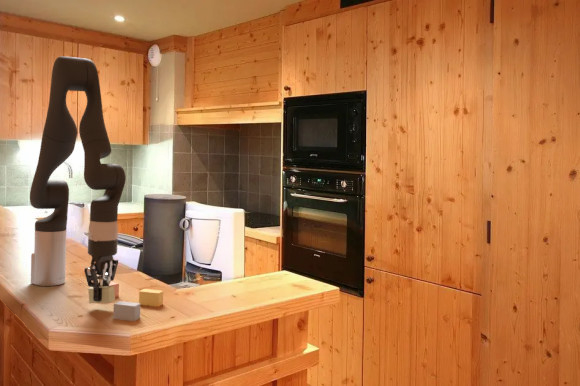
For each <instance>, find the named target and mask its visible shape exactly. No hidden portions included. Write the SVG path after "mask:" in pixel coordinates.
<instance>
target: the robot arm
mask: <svg viewBox="0 0 580 386" xmlns="http://www.w3.org/2000/svg"><path fill="white" fill-rule="evenodd" d="M49 91H50V92H49V100H48V107H47V114H46V117H45V122H44V126H43V129H42V130H43V131H42V136H41V142H40V150H39V153H38V155H39V156H38V161H37V166H36V168H35V173H34V175H33V178H32V182H31V186H30V191H29V202H30V205H31V207H33V209H37V210H47V209H48V210H49V209H50V210H53V211H52V213H51V214H49V215H47V216H46V217H43V218H41V219H38V220H36V221H35V223H34V249H33V250H34V251H33V253H31V256H30V259H31V260H30V261H31V262H30V284H33V285H35V286H41V287H50V286H51V287H53V286H59V285H63V284H65V282H66V263H67V262H66V257H67V256H66V255H67V224H68V210H69V202H70V201H69V200H70V188H69V184H68V182H67V181H66V180H64V179H63V180H61V179H50V177H51V176H52V174H53V173H54V172H55V171H56V169H57V168H59V167H60V166H61V165H62V164H63V163H65V161H67V160H68V159H69V157H71V155H72V154H73V152H74V150H75V146H76V141H77V138H78V134H79V137H80V140H81V144H82V149H83V153H84V156H83V157H84V164H83V165H84V167H83V169H84V170H83V179H84V182H85V184H86V185H87V187H88V188H89V189H92V190H95V191H103V190H104V193H103V195H101V196H100V197H97V198H95V199H92V200H91V202H90V206H89V207H90V208H89V210H90V211H89V212H90V213H89V225H88V233H87V234H88V237H87V254H88V256H91V261H90V265H89V267H84V274H85V279H86V282H87V286H88V288H91V287H93V289H94V290H93V300H94V301H98V302H100V301H101V300H102V286H109V284H110V283H111V282H114V280H115V277H116V272H117V269H118V264H119V260H118V259H115V258H114V256H115V255H118V254H117V253H118V242H119V241H118V239H119V238H118V236H119V235H118V234H119V226H118V211H119V203H120V200H121V198H122V194H123V193H124V192H123V191H124V189H125V185H126V172H125V168H124V167H122V166H121V165H120V164H117V163H102V161H101V160H102V159H105V158H107V157H109V156H110V155H111V153H112V145H111V143H110V138H109V136H108V132H107V128H106V123H105V120H104V119H105V118H104V112H103V104H102V103H103V101H102V100H103V99H102V94H101V86H100V78H99V73H98V68H97V65H96V64H95V62H94V61H93V60H92V59H89V58H84V57H83V58H82V57H74V56H63V55H62V56H58V57H57V58H56V59H55V60H54V62H53V66H52V71H51V79H50V89H49ZM69 91H70V92H71V91H72V92H84V93H85V97H86V105H85V109H84V111H83V114H82V116H81V119H80V122H79V126H78V127H79V128H78V127H77V123H76V122H75V120H74V118H73V116H72V114H71V112H70V110H69V109H68V106H67V94H68V92H69Z"/></svg>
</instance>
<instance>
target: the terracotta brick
mask: <svg viewBox="0 0 580 386" xmlns="http://www.w3.org/2000/svg"><path fill="white" fill-rule="evenodd" d="M109 286H114V291H115V298H117V297H119V292H120V283H118V282H114V281H111V283H110V284H109Z"/></svg>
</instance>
